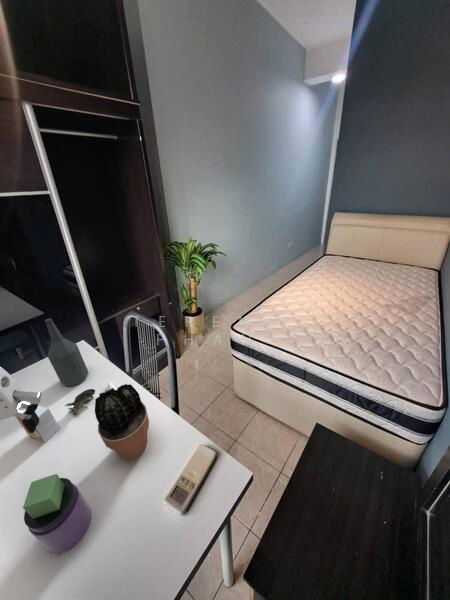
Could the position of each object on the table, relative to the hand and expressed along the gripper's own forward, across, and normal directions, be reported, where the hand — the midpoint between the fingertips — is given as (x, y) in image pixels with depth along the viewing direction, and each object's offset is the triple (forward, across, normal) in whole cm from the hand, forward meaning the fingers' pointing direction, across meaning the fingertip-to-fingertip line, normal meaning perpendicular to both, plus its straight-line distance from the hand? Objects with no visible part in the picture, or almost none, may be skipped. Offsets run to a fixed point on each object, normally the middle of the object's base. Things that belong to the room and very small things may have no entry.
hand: (8, 433), depth 51 cm
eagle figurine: (+30, 0, -32) cm, 44 cm away
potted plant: (+30, -18, -10) cm, 37 cm away
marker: (+30, -12, -32) cm, 46 cm away
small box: (+31, +11, -25) cm, 41 cm away
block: (+17, -4, +6) cm, 19 cm away
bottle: (+31, +6, -49) cm, 58 cm away
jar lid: (+18, -3, +6) cm, 19 cm away
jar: (+30, -4, +6) cm, 31 cm away
